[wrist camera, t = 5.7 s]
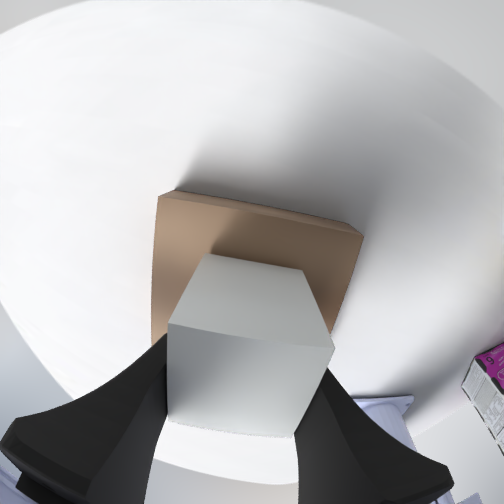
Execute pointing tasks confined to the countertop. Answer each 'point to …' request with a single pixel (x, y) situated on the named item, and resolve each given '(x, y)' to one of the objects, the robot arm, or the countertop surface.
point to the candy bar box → (488, 390)
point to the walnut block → (247, 248)
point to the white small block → (245, 349)
